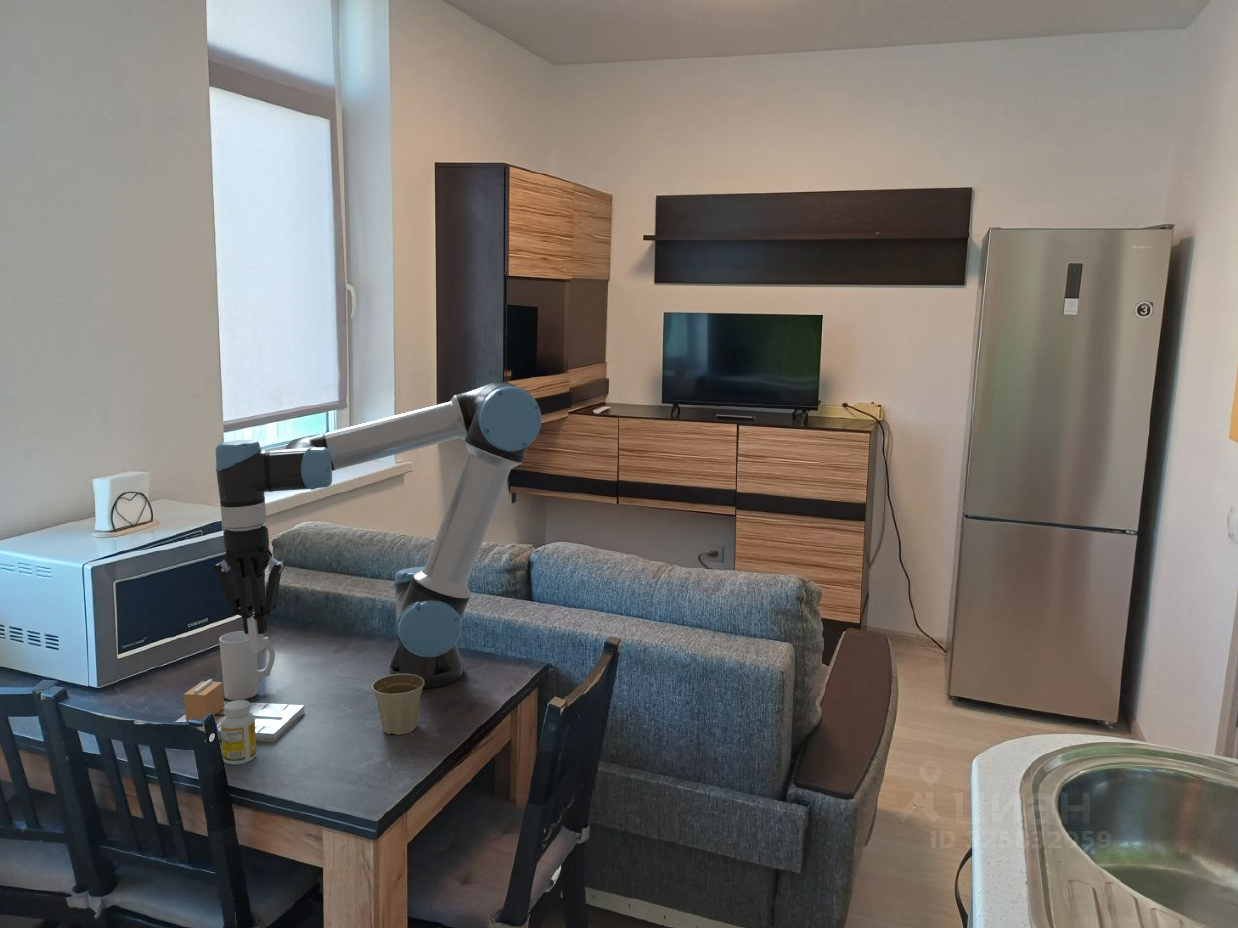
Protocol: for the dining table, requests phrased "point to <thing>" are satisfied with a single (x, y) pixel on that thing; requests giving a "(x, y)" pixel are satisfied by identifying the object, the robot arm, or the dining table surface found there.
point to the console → (266, 719)
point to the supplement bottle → (238, 733)
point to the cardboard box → (204, 699)
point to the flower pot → (398, 702)
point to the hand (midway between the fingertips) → (257, 649)
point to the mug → (242, 665)
